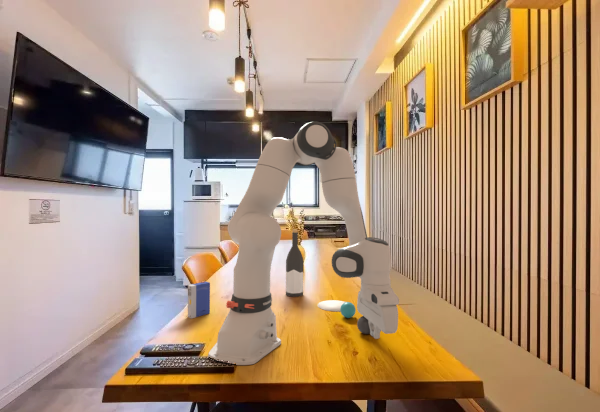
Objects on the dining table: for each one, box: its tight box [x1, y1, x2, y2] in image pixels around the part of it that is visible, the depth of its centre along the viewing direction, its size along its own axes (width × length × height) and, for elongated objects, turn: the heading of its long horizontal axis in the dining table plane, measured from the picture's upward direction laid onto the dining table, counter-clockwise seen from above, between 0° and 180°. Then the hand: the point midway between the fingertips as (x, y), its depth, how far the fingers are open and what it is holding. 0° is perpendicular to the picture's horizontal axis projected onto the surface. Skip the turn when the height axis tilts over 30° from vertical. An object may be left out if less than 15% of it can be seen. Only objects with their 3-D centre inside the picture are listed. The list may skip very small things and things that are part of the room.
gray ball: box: [356, 315, 370, 335], centre depth 106 cm, size 6×6×6 cm
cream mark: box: [317, 299, 346, 312], centre depth 134 cm, size 14×14×1 cm
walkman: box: [187, 280, 211, 319], centre depth 121 cm, size 8×3×12 cm, turn 139°
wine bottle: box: [285, 228, 305, 298], centre depth 150 cm, size 8×8×30 cm
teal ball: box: [339, 301, 357, 319], centre depth 120 cm, size 6×6×6 cm
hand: (374, 336), depth 99 cm, fingers closed
